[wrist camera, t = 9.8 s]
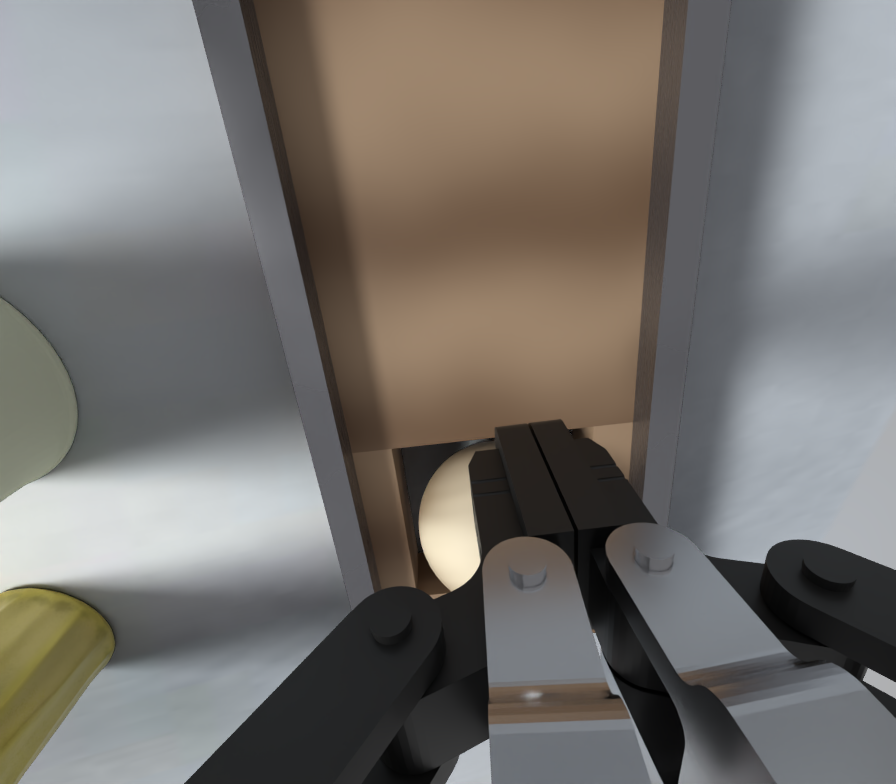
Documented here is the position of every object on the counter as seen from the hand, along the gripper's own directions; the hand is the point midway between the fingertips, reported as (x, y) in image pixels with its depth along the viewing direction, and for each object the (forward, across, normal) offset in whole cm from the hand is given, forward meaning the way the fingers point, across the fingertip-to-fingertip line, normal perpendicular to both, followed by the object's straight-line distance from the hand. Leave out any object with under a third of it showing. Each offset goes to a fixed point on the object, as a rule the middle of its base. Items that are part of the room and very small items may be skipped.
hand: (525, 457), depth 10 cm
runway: (+8, 0, 0) cm, 8 cm away
